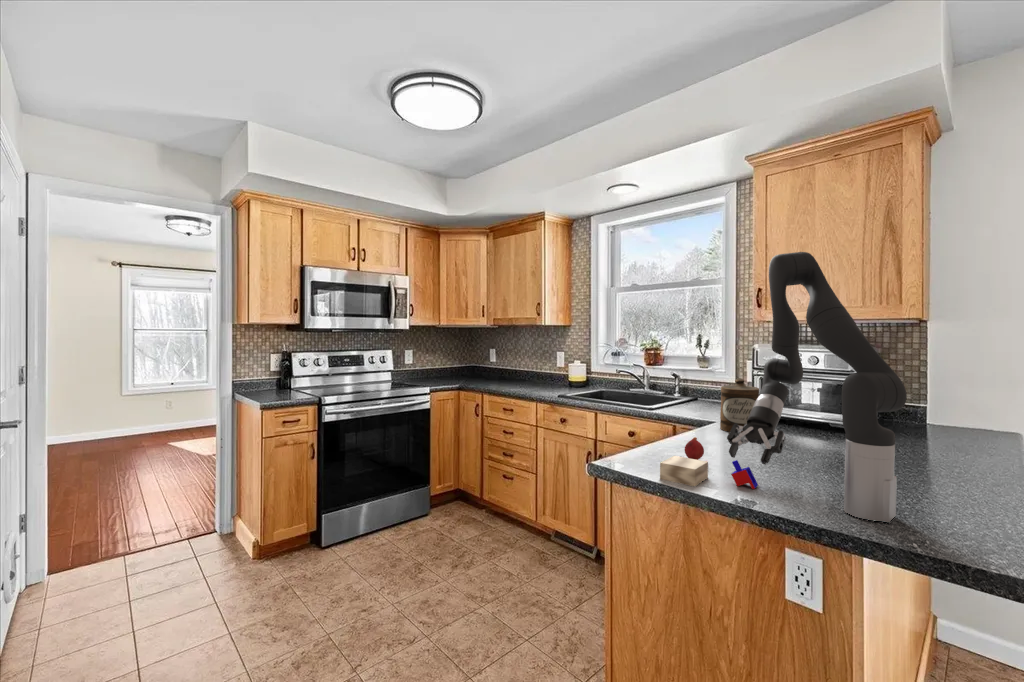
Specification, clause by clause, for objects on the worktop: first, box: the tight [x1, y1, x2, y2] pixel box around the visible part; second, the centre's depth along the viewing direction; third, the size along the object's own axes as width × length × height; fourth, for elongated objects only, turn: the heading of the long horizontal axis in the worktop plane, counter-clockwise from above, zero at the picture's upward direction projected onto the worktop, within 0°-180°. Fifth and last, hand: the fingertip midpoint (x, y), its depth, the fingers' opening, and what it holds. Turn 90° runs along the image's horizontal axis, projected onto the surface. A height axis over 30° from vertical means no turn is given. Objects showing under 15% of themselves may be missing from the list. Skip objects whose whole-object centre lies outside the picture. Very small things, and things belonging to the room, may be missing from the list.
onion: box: [684, 436, 705, 460], centre depth 157 cm, size 6×6×8 cm
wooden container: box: [719, 377, 760, 433], centre depth 204 cm, size 15×15×22 cm
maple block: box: [659, 455, 709, 487], centre depth 140 cm, size 10×10×5 cm
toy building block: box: [730, 459, 759, 490], centre depth 134 cm, size 4×4×8 cm
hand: (747, 459), depth 135 cm, fingers open, 8 cm apart
